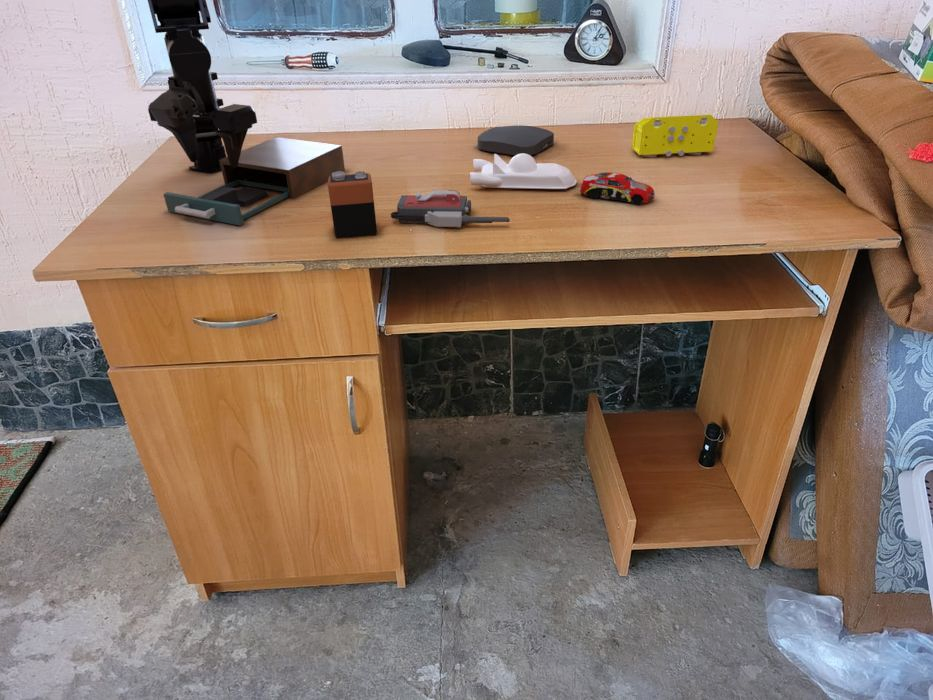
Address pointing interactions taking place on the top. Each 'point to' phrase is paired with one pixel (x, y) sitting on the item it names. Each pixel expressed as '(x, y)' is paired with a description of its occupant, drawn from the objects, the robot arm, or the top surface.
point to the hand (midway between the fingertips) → (214, 164)
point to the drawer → (220, 204)
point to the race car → (616, 188)
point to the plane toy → (521, 174)
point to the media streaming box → (515, 139)
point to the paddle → (237, 196)
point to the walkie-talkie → (439, 210)
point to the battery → (352, 204)
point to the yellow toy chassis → (675, 135)
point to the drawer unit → (288, 163)
